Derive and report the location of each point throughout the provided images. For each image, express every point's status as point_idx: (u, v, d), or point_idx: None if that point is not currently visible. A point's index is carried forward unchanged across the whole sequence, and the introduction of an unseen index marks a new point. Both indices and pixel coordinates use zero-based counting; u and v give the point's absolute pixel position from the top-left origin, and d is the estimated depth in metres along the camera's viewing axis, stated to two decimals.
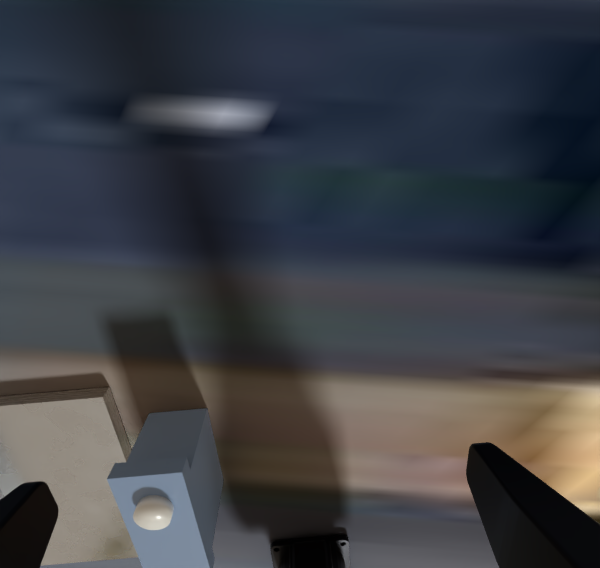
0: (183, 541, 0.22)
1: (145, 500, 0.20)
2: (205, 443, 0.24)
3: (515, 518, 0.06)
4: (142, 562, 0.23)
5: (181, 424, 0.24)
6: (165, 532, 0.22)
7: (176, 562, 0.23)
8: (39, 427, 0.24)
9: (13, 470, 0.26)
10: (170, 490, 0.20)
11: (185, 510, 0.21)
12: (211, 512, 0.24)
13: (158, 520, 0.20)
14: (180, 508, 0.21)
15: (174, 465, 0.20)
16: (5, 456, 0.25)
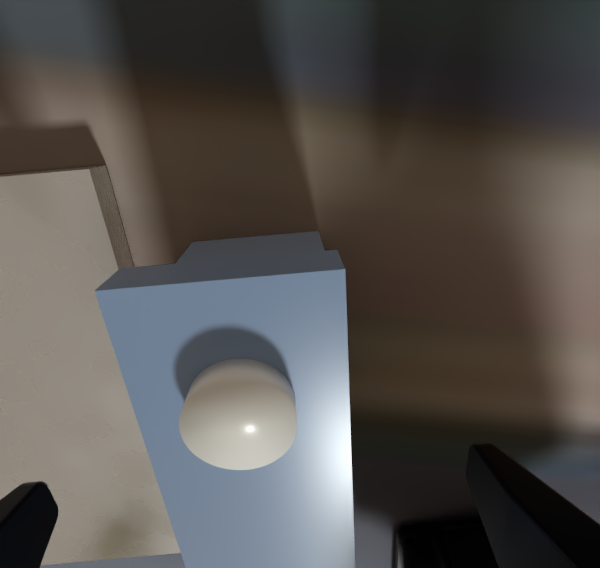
0: (304, 509, 0.08)
1: (218, 371, 0.06)
2: None
3: (515, 518, 0.06)
4: (190, 567, 0.09)
5: (272, 247, 0.11)
6: (260, 484, 0.08)
7: (276, 567, 0.09)
8: None
9: None
10: (296, 341, 0.06)
11: (327, 415, 0.07)
12: None
13: (258, 435, 0.06)
14: (314, 408, 0.07)
15: (309, 261, 0.06)
16: None
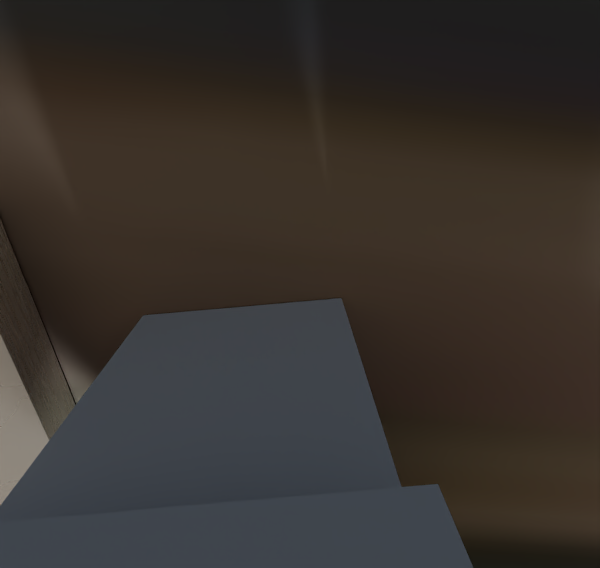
0: None
1: None
2: None
3: None
4: None
5: (267, 340, 0.06)
6: None
7: None
8: None
9: None
10: None
11: None
12: None
13: None
14: None
15: None
16: None
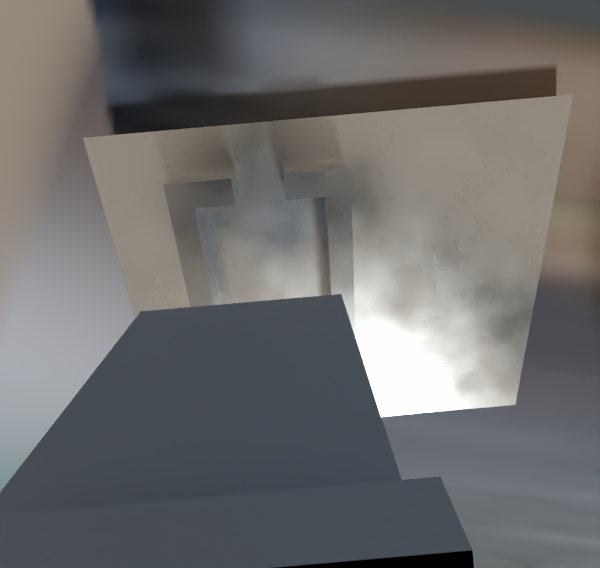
0: None
1: None
2: None
3: None
4: None
5: (266, 336, 0.06)
6: None
7: None
8: (452, 156, 0.16)
9: (380, 242, 0.17)
10: None
11: None
12: None
13: None
14: None
15: None
16: (379, 214, 0.17)
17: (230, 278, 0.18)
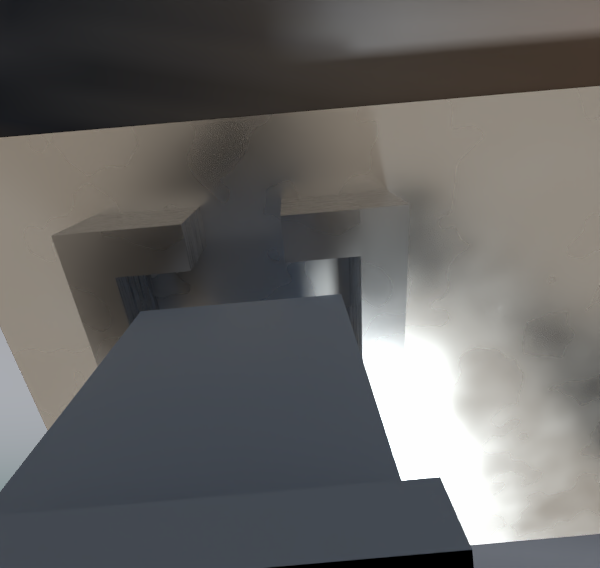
0: None
1: None
2: None
3: None
4: None
5: (266, 336, 0.06)
6: None
7: None
8: (575, 177, 0.09)
9: (441, 315, 0.11)
10: None
11: None
12: None
13: None
14: None
15: None
16: (442, 272, 0.10)
17: None
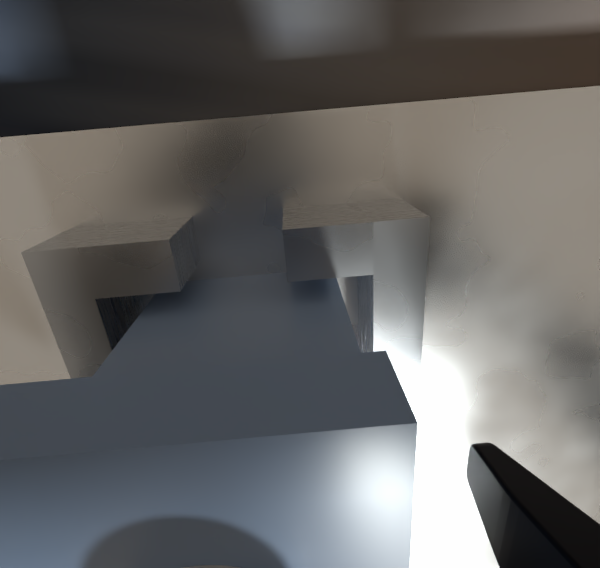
0: None
1: None
2: None
3: (515, 518, 0.06)
4: None
5: (270, 297, 0.08)
6: None
7: None
8: None
9: (457, 334, 0.10)
10: (313, 539, 0.03)
11: None
12: None
13: None
14: None
15: (340, 387, 0.03)
16: (460, 288, 0.09)
17: None
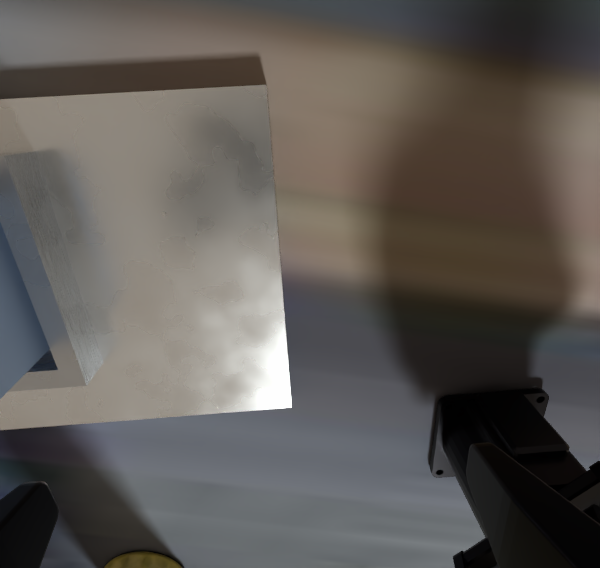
0: None
1: None
2: None
3: (515, 518, 0.06)
4: None
5: None
6: None
7: None
8: (152, 146, 0.15)
9: (99, 237, 0.16)
10: None
11: None
12: None
13: None
14: None
15: None
16: (90, 207, 0.16)
17: None
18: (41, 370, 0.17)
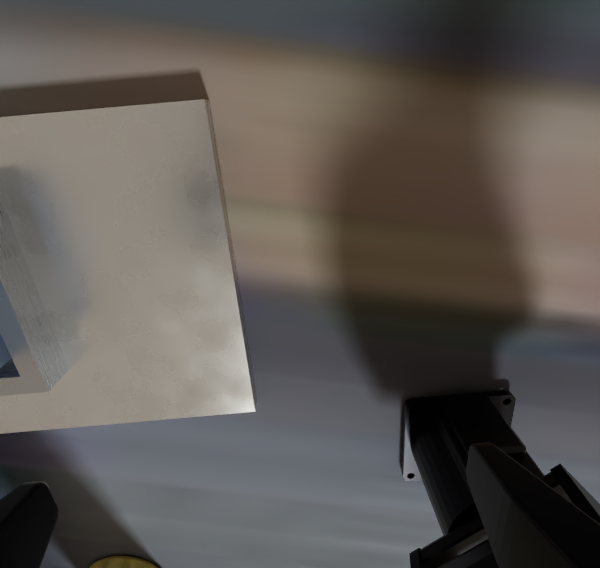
0: None
1: None
2: None
3: (515, 518, 0.06)
4: None
5: None
6: None
7: None
8: (100, 161, 0.16)
9: (56, 248, 0.17)
10: None
11: None
12: None
13: None
14: None
15: None
16: (45, 220, 0.17)
17: None
18: (4, 377, 0.18)
